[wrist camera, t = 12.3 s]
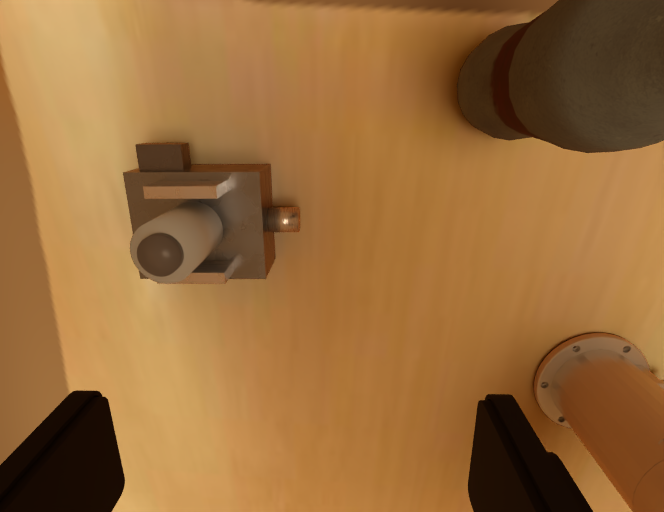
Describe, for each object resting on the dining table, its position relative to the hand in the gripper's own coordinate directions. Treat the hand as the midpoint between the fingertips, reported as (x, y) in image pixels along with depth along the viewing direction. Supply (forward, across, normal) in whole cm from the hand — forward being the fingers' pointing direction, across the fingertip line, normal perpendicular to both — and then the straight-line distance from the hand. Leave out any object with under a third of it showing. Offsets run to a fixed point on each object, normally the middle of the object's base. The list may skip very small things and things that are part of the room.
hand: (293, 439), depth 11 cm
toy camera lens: (+28, +12, +2) cm, 31 cm away
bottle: (+34, -16, -10) cm, 39 cm away
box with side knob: (+34, +11, +1) cm, 36 cm away
